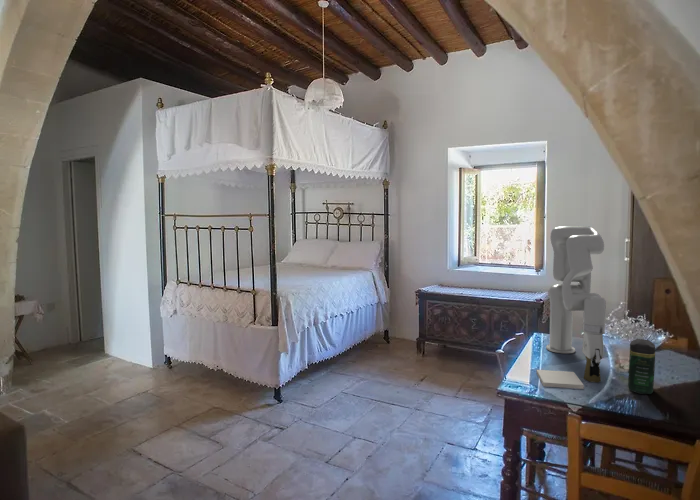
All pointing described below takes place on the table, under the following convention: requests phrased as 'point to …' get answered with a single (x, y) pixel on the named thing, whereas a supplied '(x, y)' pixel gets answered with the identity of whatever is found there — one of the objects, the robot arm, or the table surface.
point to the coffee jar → (641, 366)
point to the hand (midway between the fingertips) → (592, 373)
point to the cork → (587, 372)
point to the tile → (559, 379)
